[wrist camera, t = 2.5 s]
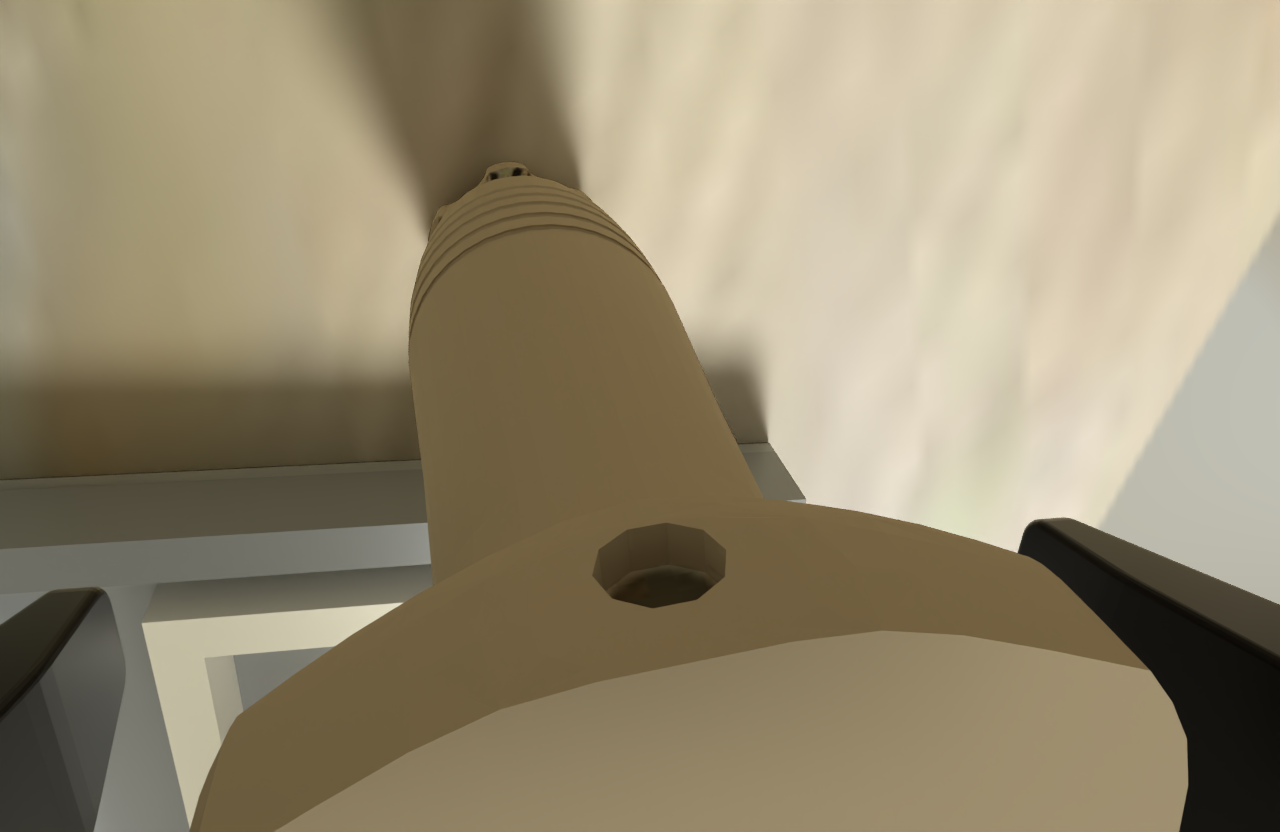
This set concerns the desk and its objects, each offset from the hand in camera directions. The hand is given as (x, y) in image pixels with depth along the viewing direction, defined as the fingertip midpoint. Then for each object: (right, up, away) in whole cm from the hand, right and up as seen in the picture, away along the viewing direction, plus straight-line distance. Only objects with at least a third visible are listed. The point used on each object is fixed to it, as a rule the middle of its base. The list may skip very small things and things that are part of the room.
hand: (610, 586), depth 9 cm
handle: (-2, +5, +10) cm, 11 cm away
